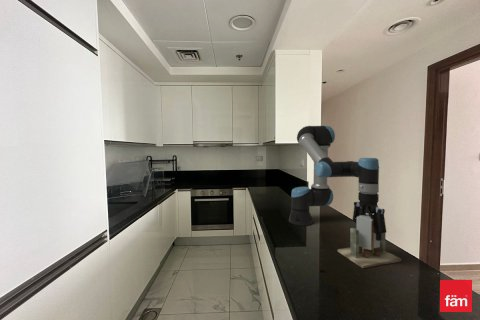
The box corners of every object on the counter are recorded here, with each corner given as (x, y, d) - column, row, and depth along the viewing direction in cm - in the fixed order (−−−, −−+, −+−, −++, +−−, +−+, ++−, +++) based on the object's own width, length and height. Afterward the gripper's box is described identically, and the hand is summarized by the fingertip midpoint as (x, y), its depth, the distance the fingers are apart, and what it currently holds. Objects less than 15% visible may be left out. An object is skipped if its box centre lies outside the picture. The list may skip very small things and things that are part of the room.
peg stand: (337, 251, 92) (337, 224, 91) (372, 246, 96) (372, 220, 96) (362, 268, 78) (362, 236, 78) (401, 261, 83) (401, 231, 82)
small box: (371, 250, 82) (371, 220, 82) (355, 245, 88) (355, 216, 87) (379, 245, 87) (380, 216, 86) (364, 240, 92) (364, 213, 91)
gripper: (343, 188, 95) (343, 234, 96) (383, 198, 75) (382, 255, 76) (356, 187, 97) (356, 232, 98) (398, 196, 77) (397, 253, 78)
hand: (367, 242), depth 87 cm, fingers closed on small box, 8 cm apart
